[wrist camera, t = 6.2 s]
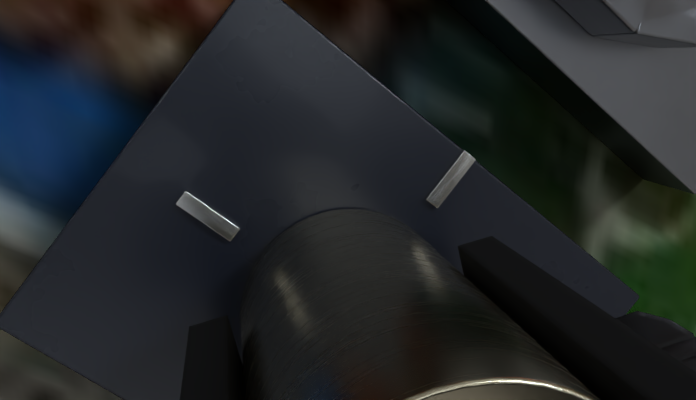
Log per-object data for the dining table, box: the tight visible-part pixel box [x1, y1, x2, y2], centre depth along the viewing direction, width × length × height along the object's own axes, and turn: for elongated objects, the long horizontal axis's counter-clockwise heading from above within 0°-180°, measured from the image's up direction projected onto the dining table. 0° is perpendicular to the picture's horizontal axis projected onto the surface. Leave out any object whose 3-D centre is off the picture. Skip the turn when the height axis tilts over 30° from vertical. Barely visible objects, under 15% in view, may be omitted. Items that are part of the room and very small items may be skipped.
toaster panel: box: [0, 0, 639, 400], centre depth 16 cm, size 12×9×3 cm
